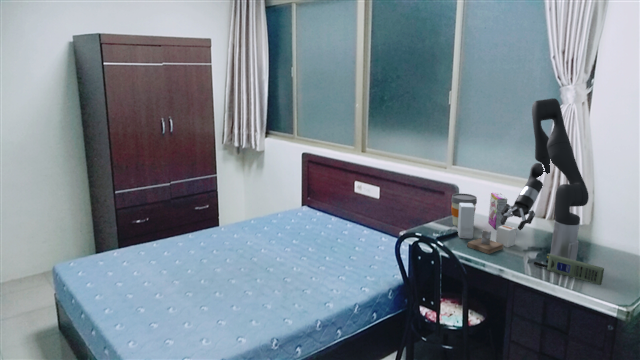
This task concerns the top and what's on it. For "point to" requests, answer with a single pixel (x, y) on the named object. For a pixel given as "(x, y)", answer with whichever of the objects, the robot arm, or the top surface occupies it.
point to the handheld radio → (574, 269)
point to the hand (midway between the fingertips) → (510, 226)
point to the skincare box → (466, 220)
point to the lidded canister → (460, 199)
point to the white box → (506, 235)
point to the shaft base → (484, 247)
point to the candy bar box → (496, 209)
